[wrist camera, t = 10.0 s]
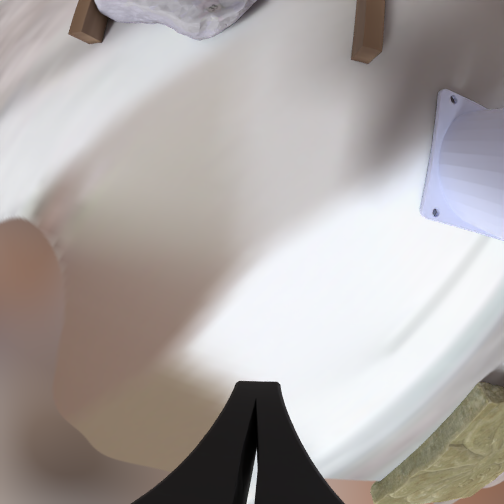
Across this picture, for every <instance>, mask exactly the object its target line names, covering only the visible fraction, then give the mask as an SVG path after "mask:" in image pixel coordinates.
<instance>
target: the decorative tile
mask: <svg viewBox="0 0 504 504" xmlns="http://www.w3.org/2000/svg"><path fill="white" fill-rule="evenodd" d="M503 472H504V387H502V386H498V385H494V386H493V385H491V384H490V383H486V382H479V383H478V384H477V385H476V386H475V387H474V388H473V389H472V391H471V392H470V393H469V394H468V395H467V397H466V398H465V399H464V400H463V401H462V402H461V404H460V405H459V406H458V407H457V408H456V409H455V410H454V412H453V413H452V414H451V415H450V416H449V417H448V418H447V419H446V420H445V421H444V422H443V423H442V425H441V426H440V427H439V428H438V429H437V430H436V431H435V432H434V433H433V434H432V435H431V436H430V437H429V438H428V439H427V440H426V441H425V442H424V443H423V444H422V445H421V446H420V447H419V448H418V449H417V450H415V451H414V452H413V453H412V454H411V455H410V456H409V457H408V458H407V459H406V460H404V461H403V462H402V463H401V464H400V465H399V466H398V467H396V468H395V469H394V470H393V471H392V472H391V473H390V474H388V475H387V476H386V477H385V478H383V479H382V480H381V481H376V482H374V483H373V485H372V486H371V495H372V498H373V503H374V504H424V503H431V502H443V501H448V500H453V499H457V498H466V497H470V496H472V495H474V494H475V493H476V492H477V491H479V490H480V489H481V488H483V487H484V486H485V485H487V484H489V483H490V482H492V481H493V480H495V479H496V478H497V477H498V476H499V475H500V474H501V473H503Z"/></svg>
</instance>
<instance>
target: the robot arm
mask: <svg viewBox="0 0 504 504" xmlns="http://www.w3.org/2000/svg"><path fill="white" fill-rule="evenodd" d="M451 97H452V98H453V99H454V104H453V103H452V102H451ZM435 208H436V210H437V213H436V215H434V216H433V214H432V213H433V210H434V209H435ZM420 214H421V215H422V217H424V218H426V219H429V220H433V221H437V222H440V223H444V224H448V225H451V226H455V227H459V228H462V229H466V230H469V231H473V232H476V233H479V234H483V235H486V236H489V237H493V238H496V239H499V240H502V241H504V108H500V109H491V110H489V109H487V108H485V107H483V106H482V105H480V104H478V103H476V102H474V101H472V100H470V99H467V98H465V97H463V96H461V95H459V94H457V93H455V92H452V91H450V90H448V89H443V90H440V91H439V92H438V98H437V109H436V118H435V126H434V134H433V141H432V147H431V154H430V160H429V166H428V171H427V177H426V182H425V187H424V192H423V196H422V201H421V205H420ZM256 449H257V463H258V472H257V483H256V494H255V504H344V502H343V501H342V500H341V499H340V498H339V497H338V496H337V495H336V493H335V492H334V491H333V490H332V489H331V487H330V486H329V485H328V484H327V482H326V481H325V479H324V478H323V477H322V475H321V474H320V472H319V471H318V469H317V468H316V467H315V465H314V463H313V462H312V460H311V459H310V457H309V455H308V454H307V452H306V450H305V448H304V446H303V445H302V443H301V441H300V439H299V437H298V435H297V433H296V431H295V429H294V426H293V424H292V422H291V420H290V417H289V415H288V412H287V409H286V406H285V403H284V400H283V397H282V392H281V386H280V384H279V383H278V382H256V381H239V382H237V383H236V385H235V387H234V389H233V392H232V394H231V396H230V398H229V400H228V401H227V403H226V405H225V407H224V408H223V410H222V412H221V413H220V415H219V416H218V418H217V419H216V421H215V423H214V424H213V426H212V427H211V428H210V430H209V431H208V432H207V434H206V435H205V436H204V438H203V439H202V440H201V441H200V443H199V444H198V445H197V446H196V448H195V449H194V450H193V451H192V452H191V453H190V454H189V456H188V457H187V458H186V459H185V460H184V461H183V462H182V463H181V464H180V465H179V466H178V467H177V468H176V469H175V470H174V471H173V472H172V473H170V474H169V475H168V476H167V477H166V478H165V479H164V480H163V481H161V482H160V483H159V484H158V485H157V486H155V487H154V488H153V489H151V490H150V491H149V492H147V493H146V494H144V495H143V496H141V497H140V498H139V499H137V500H136V501H134V502H133V503H131V504H246V503H247V497H248V492H249V487H250V482H251V477H252V471H253V466H254V460H255V455H256Z"/></svg>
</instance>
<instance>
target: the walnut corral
mask: <svg viewBox="0 0 504 504" xmlns="http://www.w3.org/2000/svg"><path fill="white" fill-rule="evenodd" d="M384 14H385V0H357V5H356V16H355V27H354V37H353V47H352V56H351V60H355V61H359V62H363V63H366V64H369V63H370V62H371V61H372V60H373V59H374V58H375V57H376V56H378V55H379V54H380V53H381V52H382V45H383V32H384ZM108 18H109V17H107V16H105V15H103V14H102V13H100V11H99V9H98V7H97V5H96V3H95V1H94V0H79V1H78V4H77V7H76V10H75V13H74V16H73V20H72V23H71V26H70V30H69V33H68V34H69V35H71V36H73V37H76V38H78V39H80V40H82V41H84V42H86V43H88V44H93V43H101V42H102V39H103V36H104V32H105V28H106V25H107V21H108Z"/></svg>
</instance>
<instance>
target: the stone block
mask: <svg viewBox="0 0 504 504" xmlns="http://www.w3.org/2000/svg"><path fill="white" fill-rule="evenodd" d="M94 1H95V3H96V5H97V7H98V9H99V11H100V13H102V14H103V15H105V16H107V17H109V18H111V19H113V20H115V21H116V22H124V23H146V24H155V23H160V24H164V25H166V26H168V27H170V28H172V29H174V30H175V31H176V32H178V33H180V34H183V35H186V36H189V37H191V38H193V39H196V40H202V39H206V38H210V37H213V36H215V35H217V34H219V33H220V32H222V31H223V30H224V29H226V28H227V27H229V26H230V25H232V24H233V23H235V22H237V20H238V19H239V18H240V17H241V16H242V15H243V14H244V13H245V12H246V11H247V10H248V9H249V8H250V7H251V6H252V5H253V4H254V3H255V2H256V1H257V0H94Z"/></svg>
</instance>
